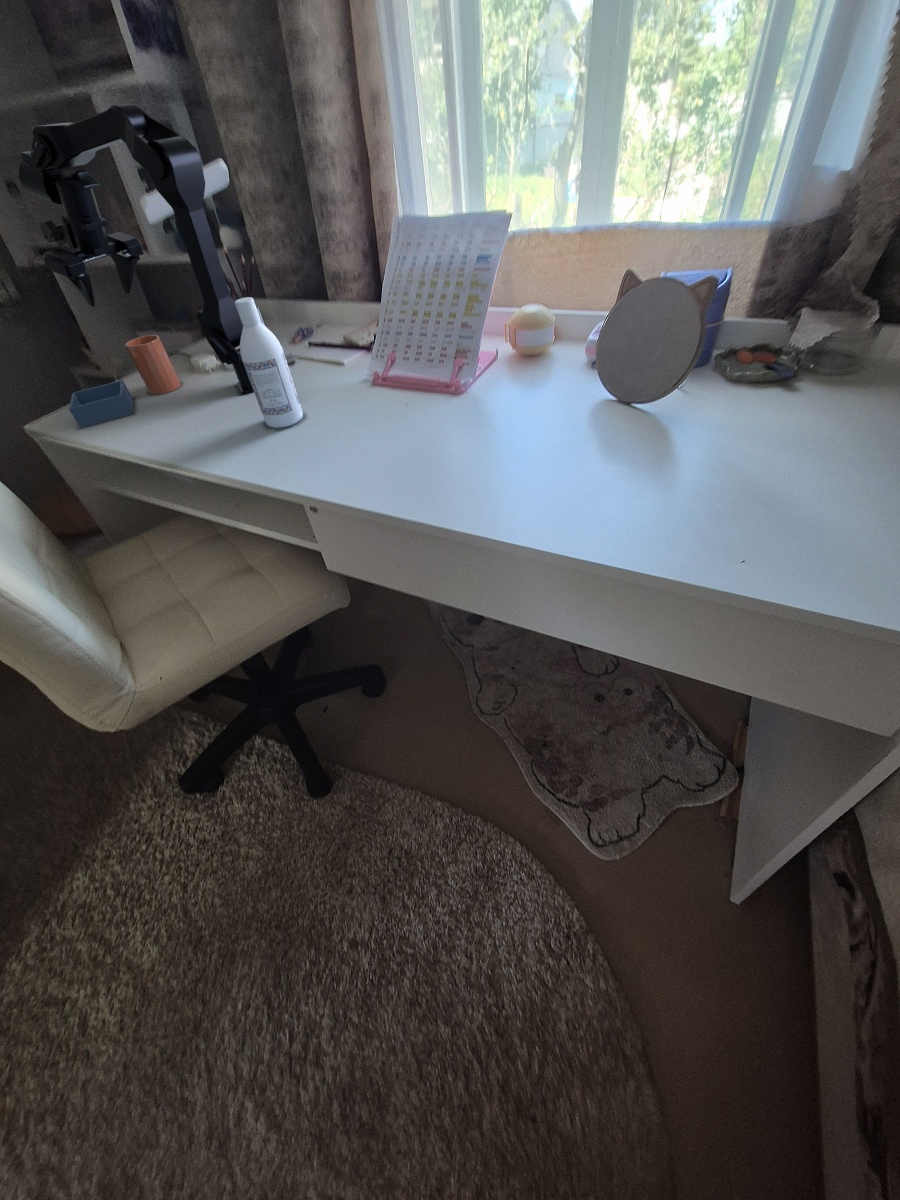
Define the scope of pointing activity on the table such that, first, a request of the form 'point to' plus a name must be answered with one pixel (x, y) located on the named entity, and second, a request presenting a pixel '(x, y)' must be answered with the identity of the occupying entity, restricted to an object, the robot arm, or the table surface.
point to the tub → (101, 404)
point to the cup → (153, 364)
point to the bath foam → (267, 369)
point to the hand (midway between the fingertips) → (110, 299)
